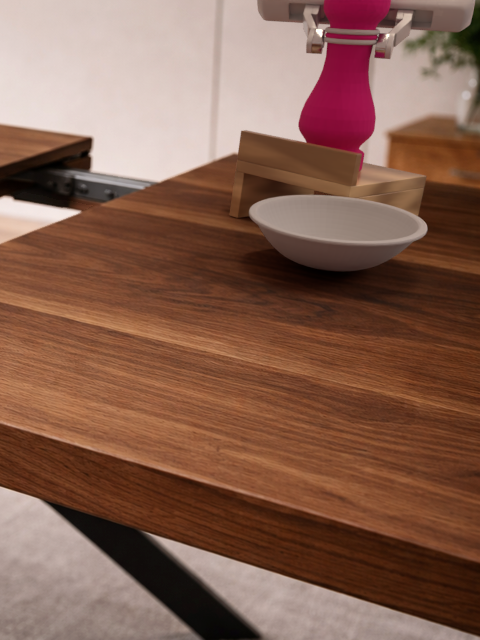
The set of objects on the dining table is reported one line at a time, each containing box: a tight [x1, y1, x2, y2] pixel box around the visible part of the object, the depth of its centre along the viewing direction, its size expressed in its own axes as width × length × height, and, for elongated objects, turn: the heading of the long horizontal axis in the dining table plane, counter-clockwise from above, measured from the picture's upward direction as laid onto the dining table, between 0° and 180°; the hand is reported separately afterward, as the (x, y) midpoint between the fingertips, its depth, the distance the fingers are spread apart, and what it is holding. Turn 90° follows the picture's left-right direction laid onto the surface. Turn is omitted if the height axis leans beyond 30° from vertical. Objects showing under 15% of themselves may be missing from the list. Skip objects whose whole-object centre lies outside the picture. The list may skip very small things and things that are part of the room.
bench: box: [229, 129, 428, 219], centre depth 98 cm, size 12×14×9 cm
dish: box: [248, 194, 428, 272], centre depth 83 cm, size 18×14×5 cm
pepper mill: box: [298, 0, 391, 171], centre depth 94 cm, size 7×7×20 cm
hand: (347, 51), depth 93 cm, fingers closed on pepper mill, 5 cm apart
